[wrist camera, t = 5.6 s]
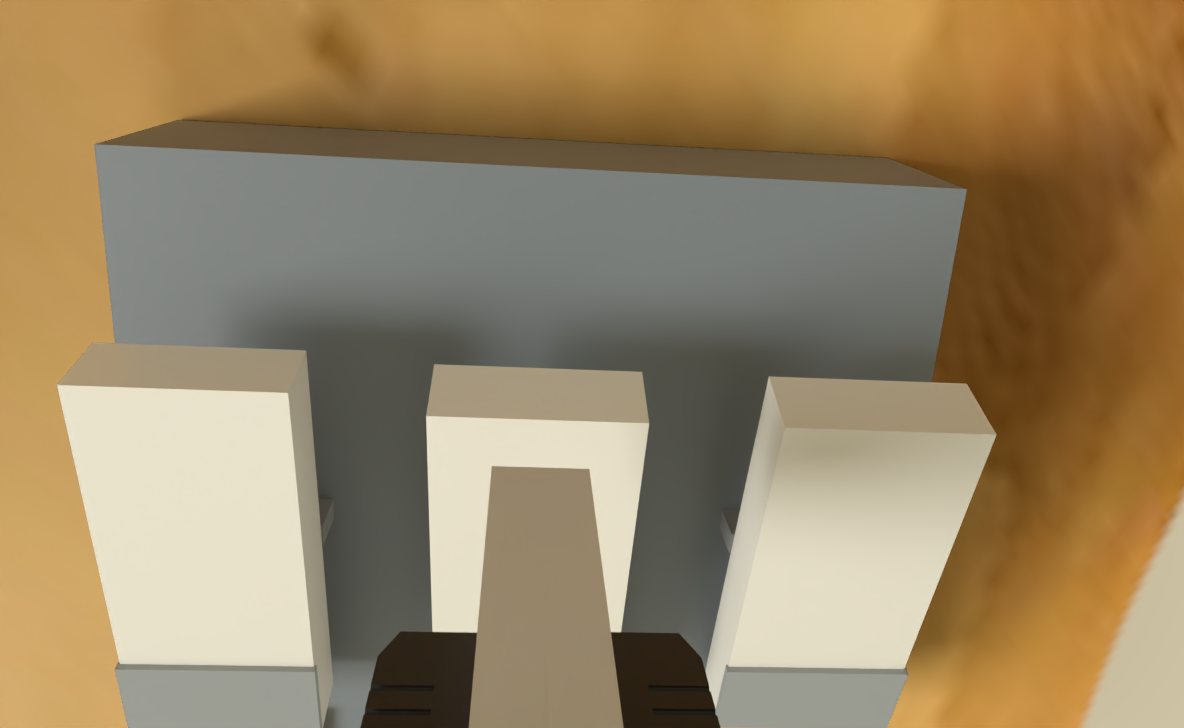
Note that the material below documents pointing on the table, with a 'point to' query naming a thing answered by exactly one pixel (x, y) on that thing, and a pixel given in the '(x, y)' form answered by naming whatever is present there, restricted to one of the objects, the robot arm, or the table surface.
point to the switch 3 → (840, 547)
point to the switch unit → (523, 315)
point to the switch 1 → (205, 531)
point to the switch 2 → (528, 439)
